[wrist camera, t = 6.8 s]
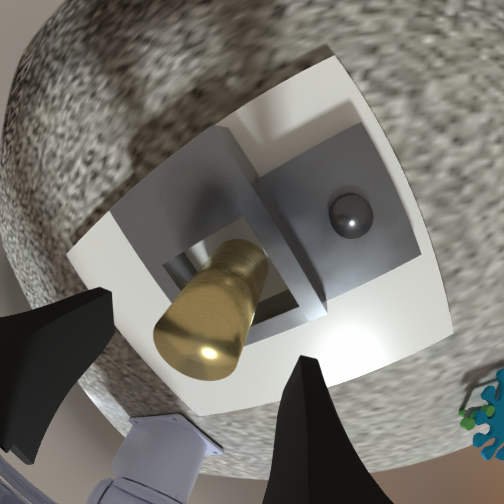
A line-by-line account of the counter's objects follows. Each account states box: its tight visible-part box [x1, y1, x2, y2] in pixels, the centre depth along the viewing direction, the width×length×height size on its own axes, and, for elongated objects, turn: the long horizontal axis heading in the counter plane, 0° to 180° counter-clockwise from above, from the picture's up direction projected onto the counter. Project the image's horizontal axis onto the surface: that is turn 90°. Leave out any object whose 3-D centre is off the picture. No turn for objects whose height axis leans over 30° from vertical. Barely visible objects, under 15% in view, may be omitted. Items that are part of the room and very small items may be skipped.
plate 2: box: [174, 122, 422, 314], centre depth 14 cm, size 12×7×2 cm, turn 122°
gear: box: [458, 369, 504, 460], centre depth 15 cm, size 11×6×10 cm
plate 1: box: [109, 125, 328, 347], centre depth 14 cm, size 7×10×2 cm
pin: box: [153, 239, 268, 381], centre depth 13 cm, size 3×3×7 cm
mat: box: [66, 55, 453, 416], centre depth 17 cm, size 22×18×1 cm
